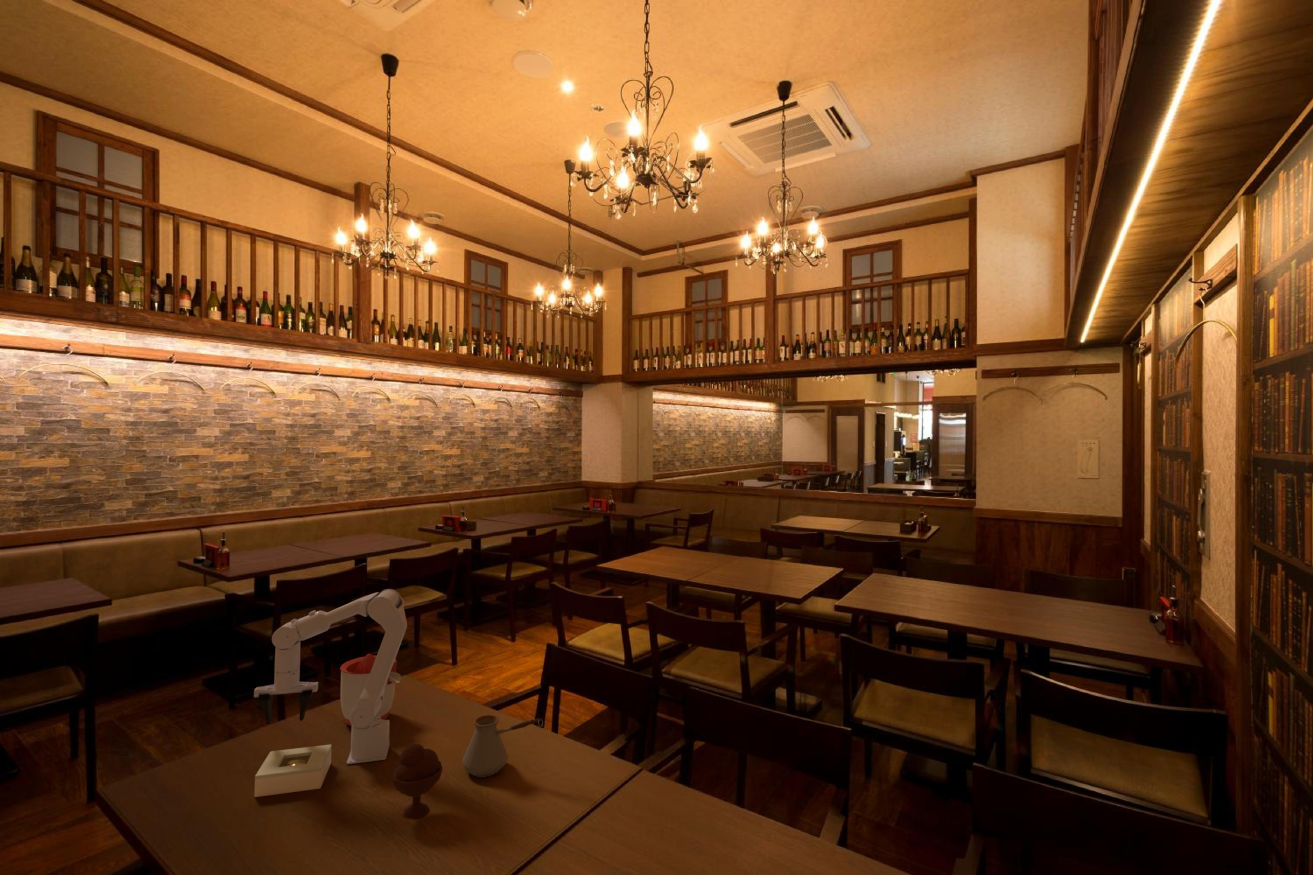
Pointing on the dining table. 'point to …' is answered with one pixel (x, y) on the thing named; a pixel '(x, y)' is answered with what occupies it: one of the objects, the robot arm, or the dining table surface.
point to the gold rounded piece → (296, 762)
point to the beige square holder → (293, 770)
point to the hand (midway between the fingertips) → (285, 720)
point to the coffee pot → (488, 746)
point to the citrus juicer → (364, 684)
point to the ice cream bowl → (416, 776)
